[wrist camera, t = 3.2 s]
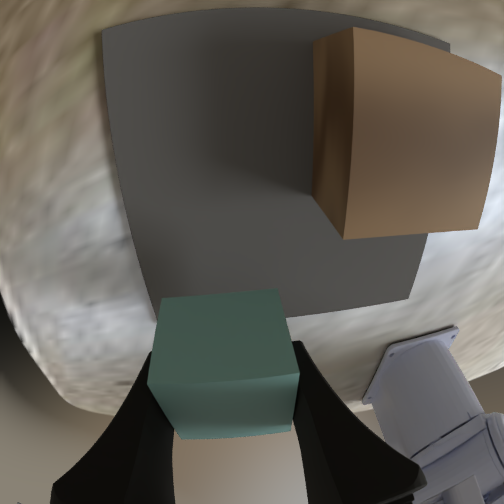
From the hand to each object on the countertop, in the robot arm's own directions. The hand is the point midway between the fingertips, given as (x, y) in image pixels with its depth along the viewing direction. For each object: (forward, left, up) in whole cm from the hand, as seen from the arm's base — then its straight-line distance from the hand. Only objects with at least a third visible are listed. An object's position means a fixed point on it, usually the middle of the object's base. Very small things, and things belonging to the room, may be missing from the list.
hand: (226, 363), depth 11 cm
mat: (+5, -4, -6) cm, 8 cm away
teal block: (0, 0, -2) cm, 2 cm away
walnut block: (+8, -8, -5) cm, 12 cm away
